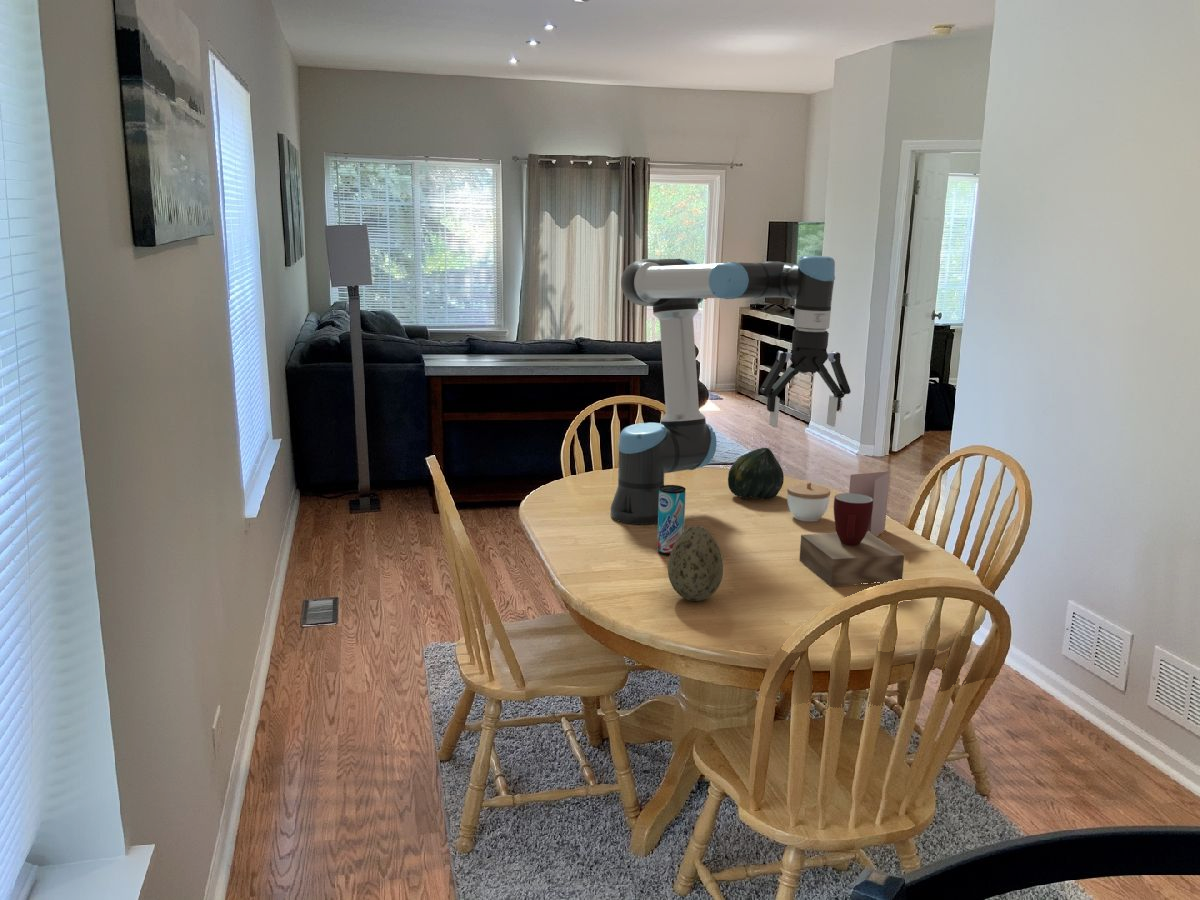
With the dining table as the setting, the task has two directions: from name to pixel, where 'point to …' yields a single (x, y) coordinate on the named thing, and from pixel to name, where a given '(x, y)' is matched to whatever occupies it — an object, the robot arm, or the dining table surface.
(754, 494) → the squash
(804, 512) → the lidded jar
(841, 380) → the robot arm
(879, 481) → the greeting card
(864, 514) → the mug
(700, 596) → the decorative egg
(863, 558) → the walnut block
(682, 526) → the beverage can
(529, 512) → the dining table surface
